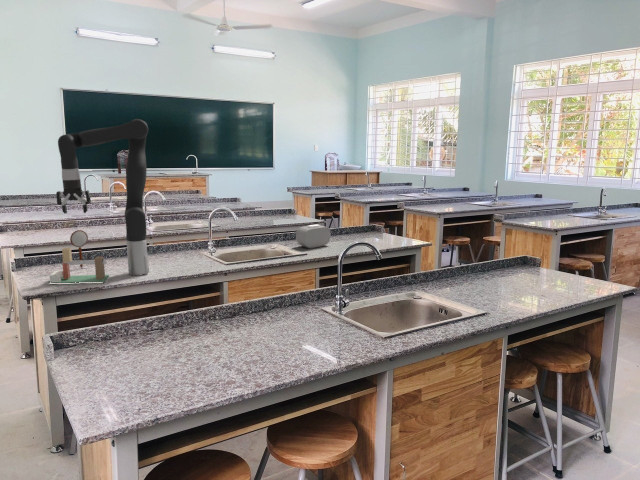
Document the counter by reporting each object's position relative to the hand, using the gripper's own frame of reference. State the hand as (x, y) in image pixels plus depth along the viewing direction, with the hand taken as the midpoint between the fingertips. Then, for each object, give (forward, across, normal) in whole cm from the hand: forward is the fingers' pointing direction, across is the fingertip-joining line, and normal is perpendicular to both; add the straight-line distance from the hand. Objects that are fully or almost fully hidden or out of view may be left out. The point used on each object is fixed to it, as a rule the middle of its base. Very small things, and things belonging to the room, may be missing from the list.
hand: (75, 213), depth 241 cm
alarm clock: (+35, -122, -54) cm, 138 cm away
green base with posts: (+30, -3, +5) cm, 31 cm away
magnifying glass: (+32, +5, -17) cm, 36 cm away
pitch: (+32, 0, +6) cm, 32 cm away
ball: (+28, +8, +5) cm, 30 cm away
